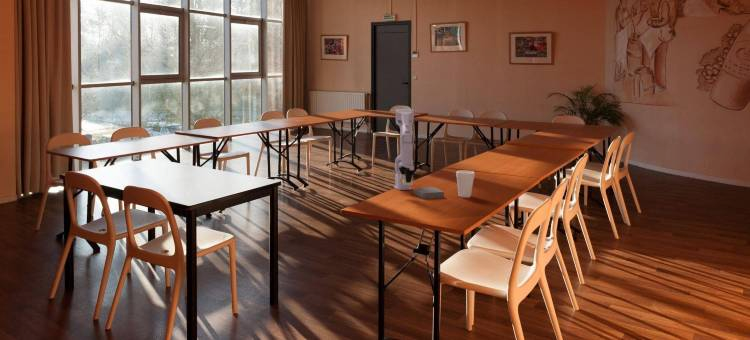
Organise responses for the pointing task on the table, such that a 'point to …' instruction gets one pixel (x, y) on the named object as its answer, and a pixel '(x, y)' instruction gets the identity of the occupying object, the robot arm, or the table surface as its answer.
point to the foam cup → (465, 182)
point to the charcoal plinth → (428, 193)
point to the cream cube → (403, 180)
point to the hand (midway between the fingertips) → (406, 181)
